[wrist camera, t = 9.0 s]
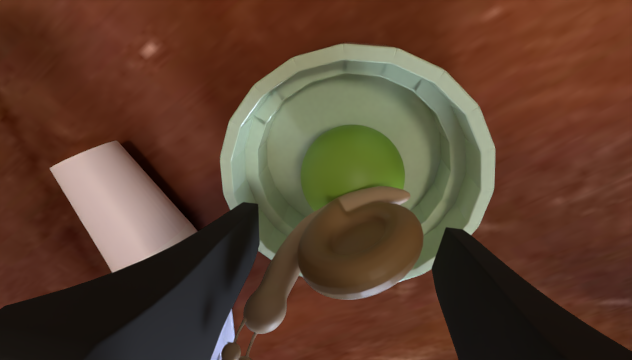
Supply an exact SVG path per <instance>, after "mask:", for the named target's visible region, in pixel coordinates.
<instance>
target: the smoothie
mask: <svg viewBox="0 0 632 360" xmlns="http://www.w3.org/2000/svg"><path fill="white" fill-rule="evenodd" d="M50 170H51V172H52V173H53V175H54V177H55V178H56V180H57V182H58V183H59V185H60V187H61V188H62V190H63V192H64V193H65V195H66V197H67V198H68V200H69V202H70V203H71V205H72V206H73V208H74V210H75V211H76V213H77V215H78V216H79V218H80V220H81V221H82V223H83V225H84V226H85V228H86V230H87V231H88V233H89V235H90V236H91V238H92V239H93V241H94V243H95V244H96V246H97V248H98V249H99V251H100V253H101V254H102V256H103V258H104V259H105V261H106V263H107V264H108V266H109V268H110V270H111V271H112V273H113V272H115V271H118V270H120V269H123V268H125V267H127V266H130V265H132V264H135V263H137V262H139V261H142V260H144V259H146V258H149V257H151V256H153V255H155V254H157V253H159V252H161V251H163V250H165V249H167V248H169V247H171V246H173V245H175V244H177V243H179V242H181V241H182V240H184V239H186V238H187V237H189V236H191V235H192V234H194V233H196V232H198V231H197V230H196V229H195V227H194V226H193V225H192V224H191V223H190V222H189V220H188V219H187V218H186V217H185V216H184V215H183V214H182V213H181V212H180V211H179V209H178V208H177V207H176V206H175V205H174V204H173V203H172V202H171V200H170V199H169V198H168V197H167V196H166V195H165V194H164V193H163V192H162V190H161V189H160V188H159V187H158V186H157V185H156V184H155V183H154V181H153V180H152V179H151V178H150V177H149V176H148V175H147V174H146V172H145V171H144V170H143V169H142V168H141V167H140V166H139V165H138V163H137V162H136V161H135V160H134V159H133V158H132V157H131V156H130V155H129V153H128V152H127V151H126V150H125V149H124V148H123V147H122V146H121V144H120V143H119V142H118V141H112V142H109V143H106V144H103V145H100V146H97V147H95V148H92V149H89V150H87V151H85V152H82V153H80V154H77V155H75V156H73V157H70V158H68V159H66V160H64V161H62V162H60V163H58V164H56V165H54V166H52V167H51V168H50Z"/></svg>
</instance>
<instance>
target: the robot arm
mask: <svg viewBox="0 0 632 360" xmlns="http://www.w3.org/2000/svg"><path fill="white" fill-rule="evenodd" d="M259 245H260V239H259V210H258V204H256V203H248V202H242V203H241V204H239V205H238V206H236V207H235V208H233V209H232V210H230V211H229V212H227V213H226V214H224V215H223V216H221V217H220V218H218V219H217V220H215V221H214V222H212V223H210V224H209V225H207V226H206V227H204V228H203V229H201V230H199V231H198V232H196V233H194V234H192V235H191V236H189V237H187V238H186V239H184V240H182V241H181V242H179V243H177V244H175V245H173V246H171V247H169V248H167V249H165V250H163V251H161V252H159V253H157V254H155V255H153V256H151V257H149V258H146V259H144V260H142V261H139V262H137V263H135V264H132V265H130V266H127V267H125V268H123V269H120V270H118V271H115V272H113V273H110V274H107V275H105V276H102V277H99V278H96V279H94V280H91V281H88V282H85V283H82V284H79V285H76V286H73V287H70V288H66V289H63V290H60V291H57V292H53V293H50V294H46V295H43V296H39V297H36V298H32V299H29V300H25V301H21V302H18V303H14V304H10V305H6V306H4V307H3V308H1V309H0V360H221V359H222V358H221V352H222V349H223V347H224V346H225V345H226V344H228V343H231V342H233V341H234V338H235V333H234V324H233V315H232V307H233V305H234V303H235V301H236V299H237V297H238V295H239V293H240V291H241V289H242V287H243V285H244V283H245V281H246V279H247V277H248V274H249V272H250V270H251V268H252V266H253V263H254V260H255V257H256V254H257V251H258V248H259ZM432 273H433V278H434V284H435V289H436V293H437V296H438V300H439V303H440V306H441V309H442V312H443V315H444V317H445V320H446V323H447V326H448V329H449V332H450V335H451V338H452V341H453V344H454V347H455V350H456V353H457V356H458V359H459V360H632V351H630V350H628V349H627V348H625V347H623V346H622V345H620V344H618V343H617V342H615V341H613V340H612V339H610V338H608V337H607V336H605V335H603V334H602V333H600V332H599V331H597V330H595V329H594V328H592V327H591V326H589V325H588V324H586V323H584V322H583V321H581V320H580V319H578V318H577V317H575V316H574V315H573V314H571V313H570V312H568V311H567V310H565V309H564V308H562V307H561V306H559V305H558V304H556V303H555V302H554V301H552V300H551V299H549V298H548V297H547V296H545V295H544V294H543V293H541V292H540V291H539V290H537V289H536V288H535V287H533V286H532V285H531V284H529V283H528V282H527V281H525V280H524V279H523V278H522V277H520V276H519V275H518V274H517V273H515V272H514V271H513V270H512V269H510V268H509V267H508V266H507V265H506V264H504V263H503V262H502V261H501V260H500V259H498V258H497V257H496V256H495V255H494V254H492V253H491V252H490V251H489V250H488V249H487V248H485V247H484V246H483V245H482V244H481V243H480V242H478V241H477V240H476V239H475V238H474V237H472V236H471V235H470V234H469V233H467V232H466V231H464V230H463V229H457V228H449V227H446V228H445V231H444V234H443V237H442V240H441V242H440V245H439V248H438V251H437V254H436V257H435V260H434V262H433V265H432Z"/></svg>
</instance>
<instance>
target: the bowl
mask: <svg viewBox="0 0 632 360" xmlns="http://www.w3.org/2000/svg"><path fill="white" fill-rule="evenodd" d="M343 125H363V126H367V127H370V128H373V129H375V130H377V131H379V132H381V133H382V134H384V135H385V136H386V137H387V138H388V139H390V140H391V142H392V143H393V144H394V145H395V146H396V148H397V150H398V151H399V153H400V155H401V158H402V161H403V164H404V169H405V183H404V188H403V190H405V191H407V192H409V193H410V198H409V200H408V201H406V202H404V203H402V204H400V205H401V206H403V207H405V208H407V209H409V210H410V211H411V212H413V213H414V214H415V216H416V217H417V218H418V220H419V221H420V223H421V226H422V230H423V235H424V239H423V248H422V251H421V253H420V256H419V258H418V260H417V262H416V263H415V265H414V267H413V268H412V269H411V271H410V272H409V273H408V274H407V275H406V276H405V277H404V278H403V279H402V280H400V281H403V280H407V279H410V278H413V277H416V276H419V275H422V274H424V273H426V272H427V271H429V270H430V269H432V265H433V262H434V260H435V257H436V254H437V251H438V248H439V245H440V242H441V240H442V237H443V234H444V231H445V228H446V227H449V228H457V229H463V230H464V231H466V232H467V233H469V234H470V235H472V233H473V232H474V231H475V230H476V229H477V228H478V226H479V225H480V222H481V220H482V217H483V215H484V213H485V210H486V208H487V206H488V203H489V201H490V198H491V196H492V194H493V191H494V190H493V189H494V178H495V145H494V143H493V140H492V138H491V135H490V132H489V130H488V127H487V125H486V122H485V119H484V117H483V114H482V112H481V109H480V107H479V106H478V104H477V103H476V102H475V101H474V99H473V98H472V97H471V96H470V95H469V94H468V93H467V92H466V91H465V90H464V89H463V88H462V87H461V86H460V85H459V84H458V83H457V82H456V81H455V80H454V79H453V77H452V76H451V75H450V74H449V73H448V72H447V71H445V70H444V69H443V68H440V67H438V66H436V65H434V64H432V63H430V62H427V61H425V60H423V59H421V58H419V57H417V56H414V55H412V54H410V53H408V52H406V51H404V50H401V49H399V48H396V47H392V46H388V45H380V44H367V43H354V42H343V43H340V44H336V45H333V46H329V47H325V48H322V49H318V50H314V51H311V52H307V53H304V54H301V55H298V56H295V57H293V58H291V59H289V60H288V61H286V62H285V63H284V64H282V65H281V66H279V67H278V68H276V69H275V70H274V71H272V72H271V73H269V74H268V75H267V76H265V77H264V78H262V79H261V80H260V81H258V82H257V83H255V84H254V86H252V88H251V89H250V91H249V92H248V94H247V95H246V96H245V98H244V99H243V101H242V102H241V104H240V105H239V107H238V108H237V110H236V111H235V113H234V114H233V116H232V117H231V118H230V121H229V123H228V127H227V131H226V135H225V139H224V143H223V147H222V151H221V155H220V166H221V176H222V186H223V194H224V197H225V199H226V201H227V204H228V206H229V208H230V210H232V209H233V208H235V207H236V206H238V205H239V204H241V203H242V202H248V203H256V204H258V210H259V239H260V245H259V248H258V251H260V252H261V253H262V254H264V255H265V256H267V257H268V258H269V259H271V260H272V259H273V257H274V256H275V254H276V252H277V251H278V249H279V248H280V246H281V245H282V244H283V242H284V241H285V239H286V238H287V237H288V235H289V234H290V233H291V232H292V231H293V230H294V228H295V227H296V226H297V225H298V224H299V223H300V222H301V221H302V220H303V219H304V218H305V217H307V216H308V215H309V214H311V213H313V212H314V210H313V209H312V208H311V207H310V205H309V204H308V202H307V200H306V198H305V196H304V193H303V190H302V186H301V167H302V162H303V159H304V157H305V154H306V152H307V151H308V149H309V147H310V146H311V145H312V143H313V142H314V141H315V140H316V139H317V138H318V137H319V136H321V135H322V134H323V133H325V132H327V131H329V130H331V129H333V128H335V127H339V126H343ZM299 276H301V277H303V276H302V274H301V272H300V274H299ZM400 281H399V282H400Z"/></svg>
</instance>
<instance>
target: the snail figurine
mask: <svg viewBox="0 0 632 360" xmlns="http://www.w3.org/2000/svg"><path fill="white" fill-rule="evenodd" d="M404 183H405V169H404V164H403V161H402V158H401V155H400V153H399V151H398V150H397V148H396V146H395V145H394V144H393V143H392V142H391V140H390V139H388V138H387V137H386V136H385V135H384V134H382V133H381V132H379V131H377V130H375V129H373V128H370V127H367V126H363V125H343V126H339V127H335V128H333V129H331V130H329V131H327V132H325V133H323V134H322V135H321V136H319V137H318V138H317V139H316V140H315V141H314V142H313V143H312V145H311V146H310V147H309V149H308V151H307V152H306V154H305V157H304V159H303V162H302V167H301V186H302V190H303V193H304V196H305V198H306V200H307V202H308V204H309V205H310V207H311V208H312V209H313V210H314V212H313V213H311V214H309V215H308V216H307V217H305V218H304V219H303V220H302V221H301V222H300V223H299V224H298V225H297V226H296V227H295V228H294V230H293V231H292V232H291V233H290V234H289V235H288V237H287V238H286V239H285V241H284V242H283V244H282V245H281V246H280V248H279V249H278V251H277V252H276V254H275V256H274V257H273V259H272V261H271V262H270V264H269V266H268V268H267V270H266V272H265V275H264V277H263V279H262V282H261V284H260V286H259V287H258V289H257V290H256V291H255V292H254V293H253V294H252V295H251V296H250V298H249V299H248V300H247V302H246V305H245V308H244V314H243V315H244V319H243V321H242V323H241V325H240V327H239V329H238V331H237V334H236V336H235V338H234V341H233V342H231V343H228V344H226V345H225V346H224V347H223V349H222V352H221V358H222V360H251V358H250V357H248V355H249V352H250V348H251V346H252V343H253V341H254V339H255V337H256V335H257V333H259V334H264V333H268V332H271V331H273V330H274V329H276V328H277V327H278V326H279V325H280V323H281V322H282V321H283V319H284V317H285V314H286V308H287V304H286V300H287V297H288V295H289V293H290V291H291V289H292V287H293V285H294V283H295V281H296V280H297V278H298V276H299V274H300V272H301V274H302V276H303V278H304V280H305V281H306V282H307V283H308V284H309V285H310V286H311V287H312V288H313V289H314V290H315V291H317V292H319V293H321V294H323V295H324V296H328V297H332V298H336V299H349V300H354V299H360V298H366V297H369V296H372V295H375V294H378V293H381V292H383V291H385V290H386V289H388V288H390V287H392V286H394V285H395V284H396V283H398V282H399V281H400V280H402V279H403V278H404V277H405V276H406V275H407V274H408V273H409V272H410V271H411V269H412V268H413V267H414V265H415V263H416V262H417V260H418V258H419V256H420V253H421V251H422V248H423V239H424V235H423V230H422V226H421V223H420V221H419V220H418V218H417V217H416V216H415V214H414V213H413V212H411V211H410V210H409V209H407V208H405V207H403V206H401V205H400V204H402V203H404V202H406V201H408V200H409V198H410V193H409V192H407V191H405V190H403V188H404ZM244 323H245V324H246V326H247V327H248V328H249V329H250V330H251V331H253V332H254V335H253V337H252V339H251V342H250V344H249V347H248V350H247V353H246V356H242V357H240V355H241V349H240V347H239V345H238V344H236V340H237V338H238V335H239V333H240V331H241V329H242V327H243V325H244Z"/></svg>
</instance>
